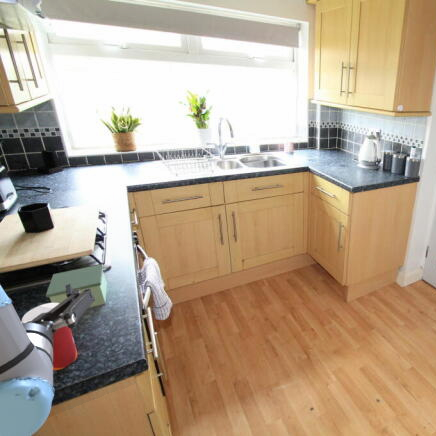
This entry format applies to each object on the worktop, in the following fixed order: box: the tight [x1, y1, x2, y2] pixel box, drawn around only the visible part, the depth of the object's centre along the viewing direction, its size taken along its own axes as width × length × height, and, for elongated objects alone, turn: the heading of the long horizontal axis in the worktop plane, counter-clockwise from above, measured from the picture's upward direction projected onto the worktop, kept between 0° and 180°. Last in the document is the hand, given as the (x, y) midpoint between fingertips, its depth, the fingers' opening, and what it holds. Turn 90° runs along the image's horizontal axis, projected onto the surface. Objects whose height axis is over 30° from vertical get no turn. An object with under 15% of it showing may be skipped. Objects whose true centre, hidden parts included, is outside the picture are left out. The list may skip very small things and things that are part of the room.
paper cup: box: [21, 302, 78, 371], centre depth 71 cm, size 8×8×14 cm
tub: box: [45, 263, 108, 309], centre depth 92 cm, size 12×11×8 cm
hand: (28, 306), depth 61 cm, fingers open, 13 cm apart
